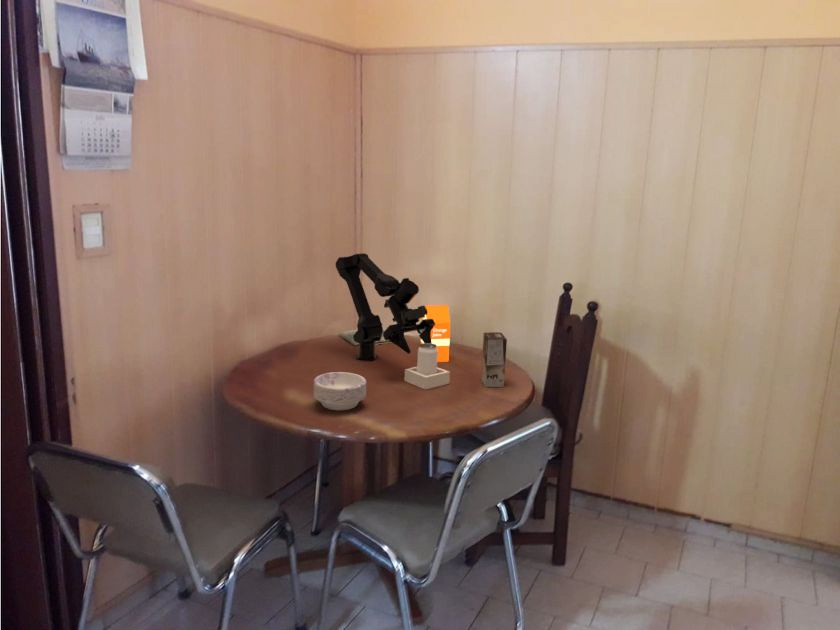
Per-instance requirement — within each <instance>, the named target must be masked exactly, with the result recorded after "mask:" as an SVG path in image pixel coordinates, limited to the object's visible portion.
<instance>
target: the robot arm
mask: <svg viewBox="0 0 840 630" xmlns="http://www.w3.org/2000/svg"><path fill="white" fill-rule="evenodd" d="M335 269H336V270H337V272H338V275H339V277H341V279H343V280H344V281H345V282H346V285H347V287H348V290H349V293H350V296H351V299H352V302H353V305H354V308H355V311H356V314H357V316H358V317H357V318H358V320H357V325H356V328H357V329H356V330H357V331H356V333H355V334H354V335H353V338H354V342H357V343H359V347H358V355H356V358H355V359H356V360H363V361H374V360H375V359H376V358H377V357H378V354H376V351H375V350H376V345H375V341H380V340H381V336H382V332H383V330H384V327H383V323H382V321H381V317H380V316H379V315H378V314H374V313H373V312H372V310H371V306H370V304H369V301H368V298H367V295H366V292H365V289H364V286H363V284H362V280H361V278H360V274H361V272H363V273H364V274H365V275H366V277H368V279H369V280H370V281H371V282H372V283H373V284H374V290H375V291H376V293H377V294H378V295H379V296H380V297H382V298H385V297H389V298H388V299H385V302H384V305H383V308H385V309H386V308H389V310H390V312H391V314H392V316H393V318H392V322H393V323H395V322H396V323H395V324H389V325H388V326H387V327H386V329H385V330H384V333H383V337H384V339H385V340H386V341H387V340H389V342H392V343H391V344H393V345H396V346H397V347H399V349H401V350H403V352H405V353H407V354H408V355H410V353H411V349H410V346H409V345H408V342H407V340H406V339H405V333H411V332H417V333H418V334H419V338H420V340H421V339H422V341H423V342H424V343H431V330H432V329H433V327H434V326H435V325H436V324H435V322H434V320H433V319H431V318H430V319H424V320H422V317H423V318H424V317H425V315H427V313H428V312H427V309H426V307H425V306H426V305H420V306H418V307H417V308H409V306H408V304H409V303H410V302H411V301H413V299H414V298H415V297H416V296H417V295H418V293H419V291H420V288H419V286H418V285H417V284H416V283H415V282H414V281H412V280H410V279H409V277H406V278H405V277H404V278H402V280H401V282H400V281H399V279H397V278H396V277H394V276H393V275H389V274H386V273H385V272H384V271H383V270H381V268H380V267H379V266H377V264H375V262H373V260H372V259H370V257H369V255H368V254H367V253H364V252H362V253H361V252H360V253H355V254H352V255H350V256H339V257H338V258H337V260H336V261H335ZM420 320H421V321H420ZM419 322H420V323H419ZM417 323H418V324H417ZM431 344H432V343H431Z"/></svg>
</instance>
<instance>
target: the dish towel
mask: <svg viewBox="0 0 840 630" xmlns="http://www.w3.org/2000/svg"><path fill="white" fill-rule="evenodd" d="M357 330H358V329H354V330H347V331H342V332H339V334H338V336H339V337H340V338H341V337H342V338H341V339H343V340H344V339H345V340H344V341H346V342H347V341H348V342H347V343H349V342H350V343H349V344H351V345H352V344H353V345H352V346H354V347H356V348H359V347H358V346H359V343H357V342H354V338H353V335H354V334H355V333H356V331H357ZM384 331H385V330H384V329H383V332H382V336H381V340H380V341H375V346H380V345H379V344H382V345H389V343H391V344H393V343H392V342H389V340H387V341H386V340H385V339H384V337H383V333H384Z"/></svg>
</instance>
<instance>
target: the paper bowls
mask: <svg viewBox="0 0 840 630" xmlns="http://www.w3.org/2000/svg"><path fill="white" fill-rule="evenodd" d="M366 396H367V379H366V378H365V377H364V376H362V375H360V374H356V373H353V372H349V371H348V372H345V371H335V372H334V371H332V372H326V373H322V374H320V375H317V376H316V377H315V378H314V379H313V397H314V399H315V400H317V401H318V402H320V403H321V406H323V407H324V408H325V409H328V410H331V411H339V412H342V411H348V410H352V409H354V408H356V407H357V406H358V404H359V402H361V401H363V400H364V399H365V398H366Z"/></svg>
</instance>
